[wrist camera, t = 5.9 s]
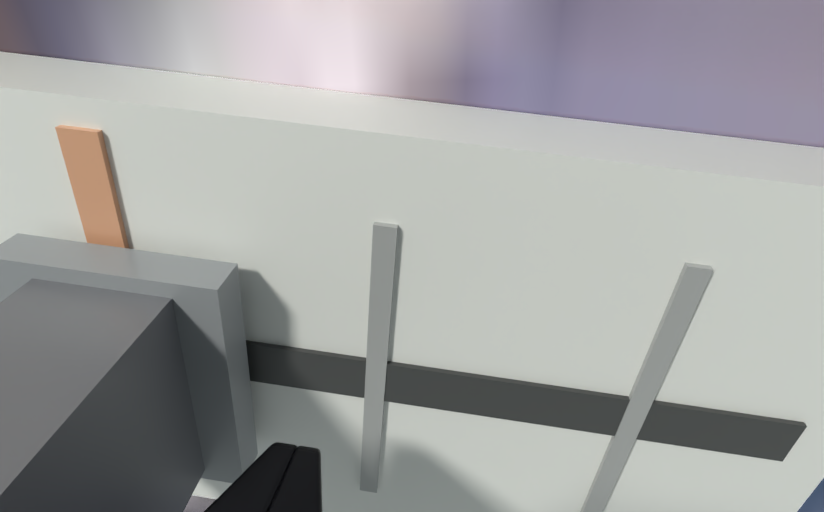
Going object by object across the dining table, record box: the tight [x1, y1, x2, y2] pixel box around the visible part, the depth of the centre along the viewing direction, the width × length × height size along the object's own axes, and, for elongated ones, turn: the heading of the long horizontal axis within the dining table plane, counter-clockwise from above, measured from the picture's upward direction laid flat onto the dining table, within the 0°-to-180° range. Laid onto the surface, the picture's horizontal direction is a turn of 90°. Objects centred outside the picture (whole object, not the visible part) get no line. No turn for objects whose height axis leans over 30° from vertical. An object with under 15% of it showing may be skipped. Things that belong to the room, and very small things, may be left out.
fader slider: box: [0, 233, 258, 512], centre depth 8 cm, size 4×5×6 cm
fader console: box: [0, 52, 824, 512], centre depth 11 cm, size 20×10×2 cm, turn 85°
